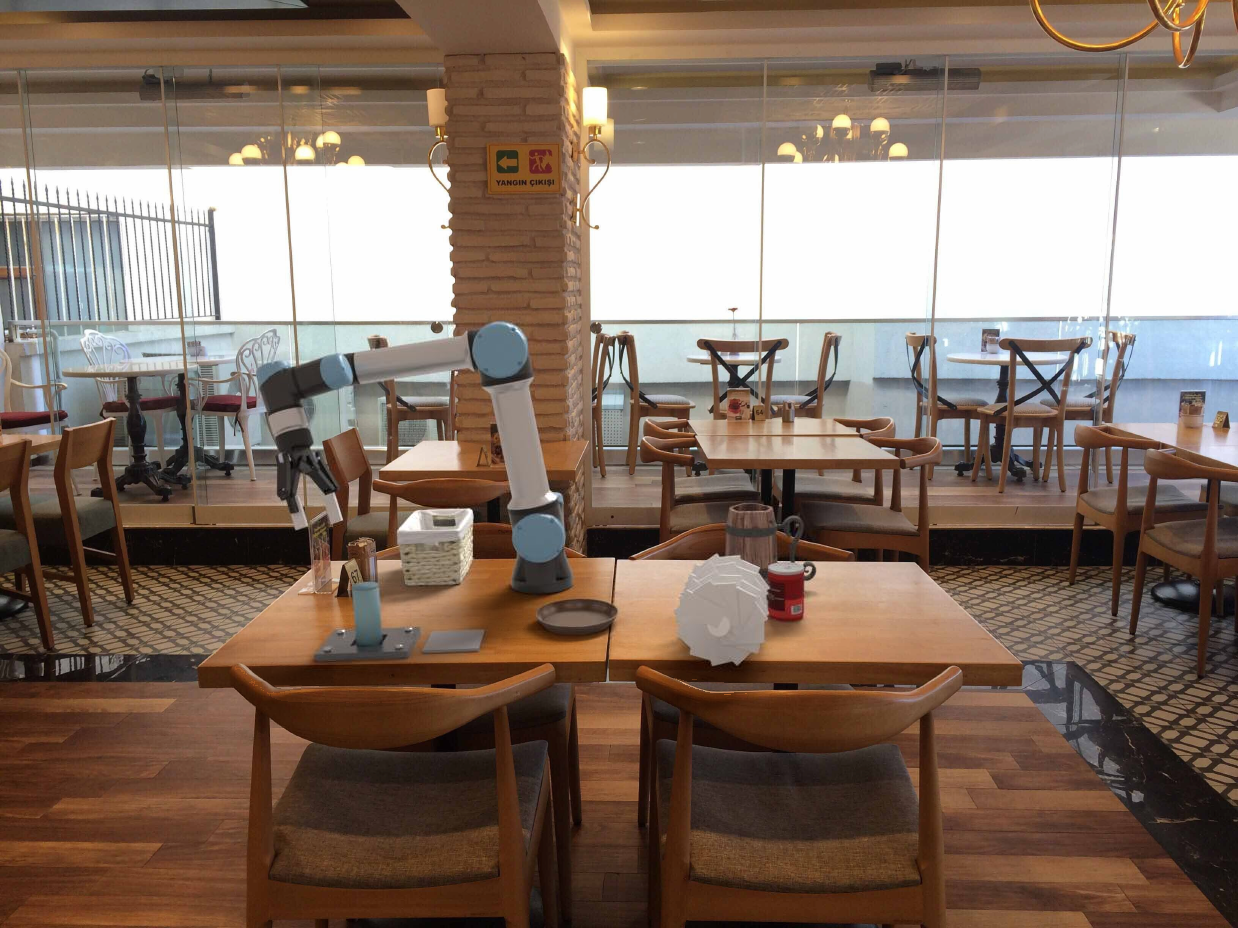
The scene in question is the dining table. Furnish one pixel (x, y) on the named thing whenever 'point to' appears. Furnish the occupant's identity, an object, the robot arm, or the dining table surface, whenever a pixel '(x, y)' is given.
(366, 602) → the plug
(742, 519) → the tankard
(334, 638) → the flange plate
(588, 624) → the plant saucer
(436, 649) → the pad
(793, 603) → the canned food
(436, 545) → the storage basket
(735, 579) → the spiral staircase
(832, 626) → the dining table surface
